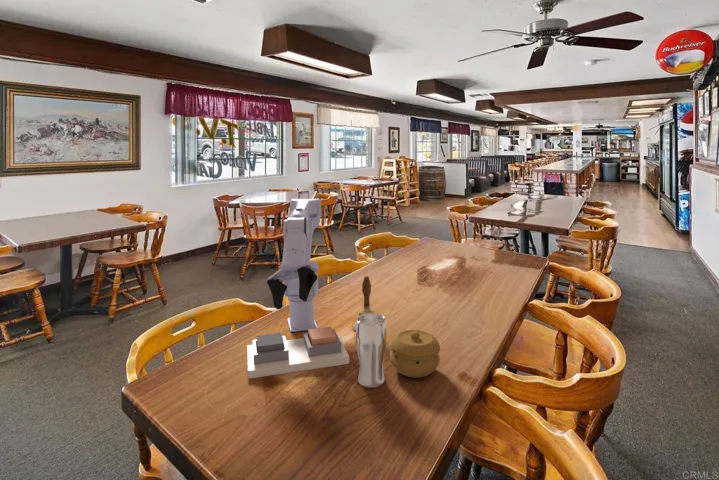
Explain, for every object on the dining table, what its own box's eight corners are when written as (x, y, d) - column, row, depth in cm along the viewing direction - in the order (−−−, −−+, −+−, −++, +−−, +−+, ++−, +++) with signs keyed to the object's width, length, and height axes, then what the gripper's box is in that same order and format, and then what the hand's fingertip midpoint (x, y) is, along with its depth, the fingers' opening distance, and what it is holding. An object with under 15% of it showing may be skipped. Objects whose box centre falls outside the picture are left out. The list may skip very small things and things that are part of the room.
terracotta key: (308, 339, 106) (308, 329, 105) (331, 337, 108) (330, 326, 107) (312, 350, 100) (312, 339, 100) (336, 347, 102) (335, 336, 101)
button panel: (247, 352, 106) (246, 336, 105) (337, 340, 112) (337, 325, 111) (248, 378, 94) (247, 360, 93) (349, 363, 100) (349, 346, 99)
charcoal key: (257, 346, 103) (256, 335, 102) (281, 343, 104) (281, 332, 104) (258, 358, 97) (257, 346, 96) (283, 354, 99) (283, 343, 98)
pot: (391, 384, 91) (391, 343, 89) (387, 358, 103) (388, 321, 100) (443, 384, 91) (445, 343, 89) (434, 358, 102) (435, 321, 100)
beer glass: (384, 371, 96) (385, 312, 93) (387, 388, 90) (388, 325, 86) (355, 372, 96) (355, 313, 93) (356, 389, 89) (355, 326, 86)
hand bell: (385, 331, 118) (385, 278, 114) (358, 336, 115) (358, 282, 111) (373, 320, 125) (374, 271, 122) (348, 324, 122) (348, 274, 119)
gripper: (262, 257, 105) (255, 304, 97) (307, 239, 99) (304, 288, 92) (279, 269, 110) (274, 315, 102) (324, 253, 104) (322, 301, 97)
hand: (290, 303), depth 97 cm, fingers open, 7 cm apart
